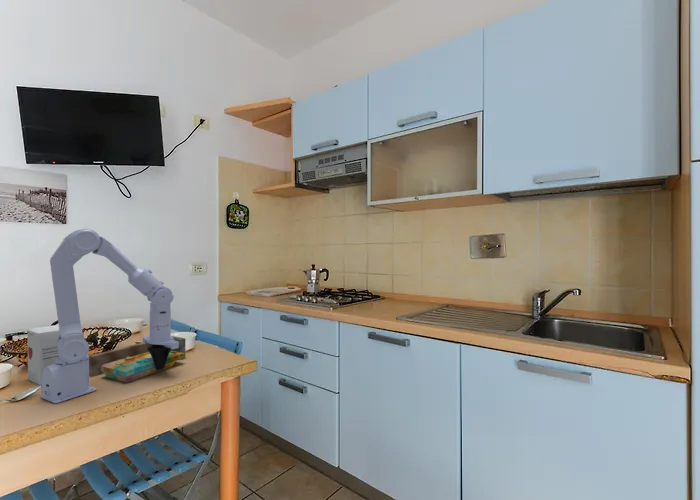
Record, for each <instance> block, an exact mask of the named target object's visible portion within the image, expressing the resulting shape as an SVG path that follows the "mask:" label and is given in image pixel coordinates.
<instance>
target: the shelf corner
mask: <svg viewBox="0 0 700 500" xmlns="http://www.w3.org/2000/svg"><path fill="white" fill-rule="evenodd" d="M171 336H172V337H173V339H174V340H175V341H178V342H179V348H176V349H171V351H176V352H182V353H185V354H186V338H185V337H179V336H174V335H171ZM148 347H152V344H149V343H143V342H140V343H139V342H138V343H136V344H131V345H127V346H122V347H119V348H115V349H111V350H107V351H102V352H98V353H95V354H91V355H90V354H89V377H91V378H92V377H96V376H99V375H102V374H104V373H103V372H102V371H101V366H102V365H103V364H107V363H110V362H114V361H118V360H121V359H125V358H126V357H132V356H136V355H139V354H143V353H147V352H149V351H148ZM184 359H186V356H185V357H184V358H182V359H179V361H180V360H184Z"/></svg>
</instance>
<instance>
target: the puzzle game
mask: <svg viewBox="0 0 700 500" xmlns="http://www.w3.org/2000/svg"><path fill="white" fill-rule="evenodd" d="M184 357H185V358H186V352H185V353H182V352H176V351H170V353H169V355H168V357H167V360H166V364H165V368H164V369H161V370H156V368H155V365H154V361H153V358H152V356H151V354H150V352H147V353H143V354H139V355H136V356H132V357H126V358H125V359H121V360H118V361H114V362H110V363H107V364H103V365H102V366H101V371H102V372H103V374H104V376H106V377H107V378H108V379H112V380H117V381H119V382H120V381H121V382H123V383H129V382H133V381H135V380H138V379H141V378H143V377H147V376H149V375H152V374H155V373H158V372H161V371H164V370H167V369H169V368H172V367H173V366H174V365H175V363H176V361H178V360H179V359H182V358H184ZM182 360H183V359H182ZM179 361H180V360H179Z"/></svg>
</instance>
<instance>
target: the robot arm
mask: <svg viewBox="0 0 700 500" xmlns="http://www.w3.org/2000/svg"><path fill="white" fill-rule="evenodd" d="M90 253H92V254H93V255H94V254H95V255H98V256H102V257H105V258H106V259H108V261H109V262H111V263H112V264H114V265H115V266H116V267H117V268H119V269H120V271H122V272H123V273H125V274H126V275H127V278H128V279H127V280H128V283H129V284H130V285H131V286H133V288H135V289H136V290H137V291H138V292H140V293H141V294H142V295H143V296H144V297H146V298H147V300H148V301H149V302H150V303H149V335H146V336H142V343H149V344H152V347H148V351H149V352H150V354H151V356H152V358H153V361H154V365H155V368H156V370H161V369H164V368H165V364H166V360H167V357H168V355H169V353H170V351H171V349H176V348H179V342H178V341H175V340H174V339H173V337H172V336H173V335H171V334H172V333H171V329H172V328H171V325H172V324H171V323H172V322H171V319H172V318H171V315H172V313H171V312H172V311H171V310H172V309H171V303H172V302H173V301H174V298H175V296H174V295H173V292H172V290H171V289H170V288H168V287H166V286H164V284H165V282H163V281H161V280H159V279H157V278H156V277H155V275H153V271H152V270H151V269H147V268H145V267H137V266H136V265H135V264H134V263H133V262H132V261H130V260H129V258H128V257H126V256H125V255H124V254H123V253H122V252H121V251H120V249H118V248H117V247H116V246H115V245H113V243H112V242H110V241H109V240H108V239H106V238H105V237H103V236H101V235H99V234H98V233H97V231H95V230H93V229H89V228H81V229H77V230H74V231H73V232H71V233H70V234H68V235H66V236H65V237H64V238H63V239H62V241H61V243H60V244H59V246H58V247H57V248H56V250H55V251H54V253H53V254H52V255H51V257H50V260H49V263H50V265H49V266H50V271H51V272H50V273H51V278H52V280H51V281H52V286H53V292H54V293H53V294H54V301H55V302H54V303H55V309H56V316H57V322H58V324H57V325H59V339H58V341H57V344H56V347H57V350H58V354H59V356H58V358H57V359H55V363H54V364H52V365H50V366H47V367H45V368H44V369H43V371H42V385H41V395H40V398H41V399H43V400H46V401H47V402H51V403H53V404H58V403H62V402H65V401H68V400H71V399H74V398H77V397H80V396H82V395H86V394H89V393H93V392H95V391H97V387H94V386H90V376H89V356H90V354H88V353H89V351H90V345H89V342H87V340H86V338H85V336H84V335H83V334H84V333H83V327H82V323H81V317H80V316H81V315H80V309H79V300H78V293H77V286H76V285H77V284H76V280H75V279H76V278H75V271H74V265H75V264H77V263H78V261H80V260H81V259H82V258H83V257H84V256H86V255H88V254H90ZM164 370H165V369H164ZM161 371H162V370H161Z"/></svg>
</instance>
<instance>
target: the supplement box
mask: <svg viewBox="0 0 700 500" xmlns="http://www.w3.org/2000/svg"><path fill="white" fill-rule="evenodd" d="M58 339H59V324H55V325H47V326H41V327H34V328H28V329H27V380H29V381H31V382H33V383H34V384H36V385H38V386H42V371H43V369H44V368H45V367H47V366H50V365H52V364H54V363H55V359H57V358H58V356H59V354H58V350H57V347H56V344H57V341H58Z"/></svg>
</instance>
